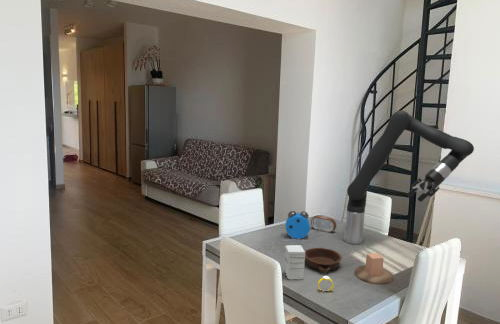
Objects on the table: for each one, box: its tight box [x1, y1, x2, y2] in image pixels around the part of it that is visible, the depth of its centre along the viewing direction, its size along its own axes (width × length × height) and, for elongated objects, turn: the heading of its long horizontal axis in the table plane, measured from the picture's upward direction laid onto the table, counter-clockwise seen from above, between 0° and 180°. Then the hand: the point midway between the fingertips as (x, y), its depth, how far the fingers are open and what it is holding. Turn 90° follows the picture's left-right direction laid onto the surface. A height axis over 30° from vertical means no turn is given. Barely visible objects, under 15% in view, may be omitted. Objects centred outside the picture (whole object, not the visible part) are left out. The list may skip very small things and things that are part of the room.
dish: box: [304, 247, 343, 274], centre depth 175 cm, size 18×22×5 cm
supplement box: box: [283, 244, 306, 279], centre depth 163 cm, size 7×7×13 cm
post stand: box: [354, 264, 394, 285], centre depth 165 cm, size 16×16×7 cm
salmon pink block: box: [365, 252, 384, 276], centre depth 165 cm, size 5×5×8 cm
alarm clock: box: [285, 210, 311, 240], centre depth 209 cm, size 13×6×15 cm, turn 85°
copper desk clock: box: [310, 215, 337, 233], centre depth 221 cm, size 15×3×8 cm, turn 58°
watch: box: [317, 275, 334, 291], centre depth 151 cm, size 6×3×6 cm, turn 89°
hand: (413, 198), depth 179 cm, fingers open, 8 cm apart
